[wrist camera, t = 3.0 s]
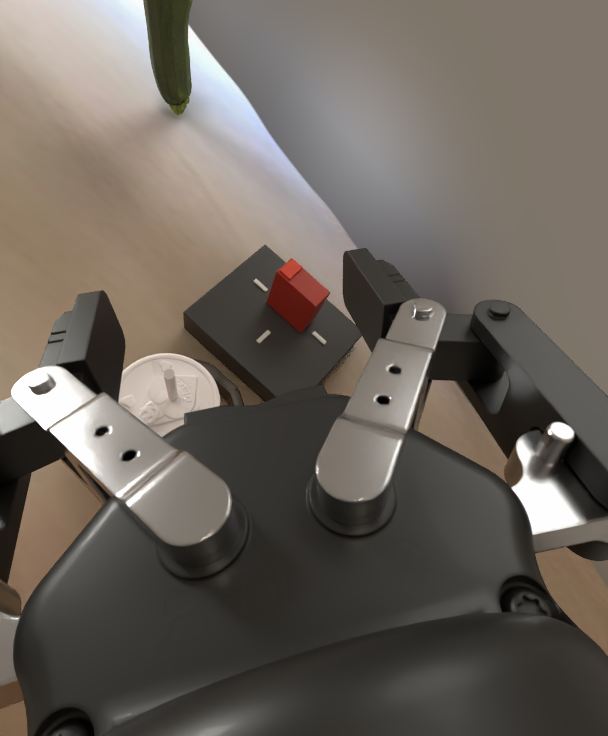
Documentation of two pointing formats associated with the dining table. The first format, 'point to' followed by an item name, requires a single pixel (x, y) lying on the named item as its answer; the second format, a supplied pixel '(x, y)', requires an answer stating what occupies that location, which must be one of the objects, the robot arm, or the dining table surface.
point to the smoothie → (166, 390)
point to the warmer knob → (296, 295)
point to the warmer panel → (267, 331)
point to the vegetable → (170, 49)
